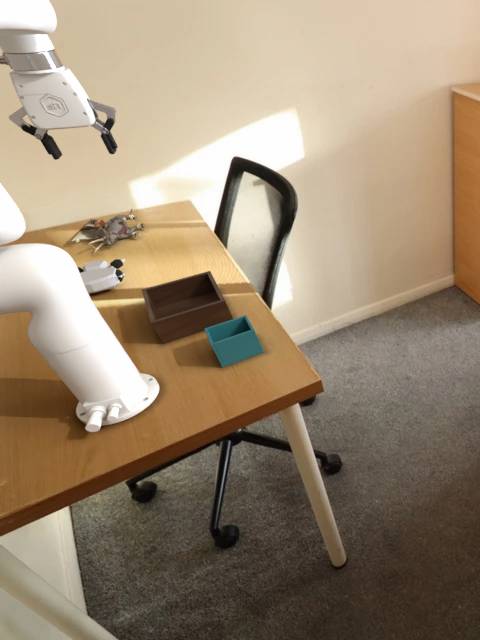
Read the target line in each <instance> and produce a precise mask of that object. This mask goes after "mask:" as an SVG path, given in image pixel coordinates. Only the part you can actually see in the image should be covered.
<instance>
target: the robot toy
mask: <svg viewBox="0 0 480 640" xmlns="http://www.w3.org/2000/svg"><path fill="white" fill-rule="evenodd" d="M125 262H126V259H125V258H116V259H114V260H112V261H111V262H110V263H109V262H108V261H106V260H104V259H99V260H98V259H97V260H92V261H89V262H87V263H84V265H83V266H82V267H80V266H77V268H78V270H79V272H80V275H81V278H82V280H83V283H84V285H85V287H86V290H87V292H88V294H89V295H90V294H95V293H99V292H102V291H106V290H107V291H108V290H113V289H115V288H117V287H118V286H119V285H120V284H121V282H122V281H123V280H124V277H126V273H125V272H123V271H122V270H121V269H120V268H122V267H123V266H124V263H125Z"/></svg>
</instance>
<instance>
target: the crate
mask: <svg viewBox="0 0 480 640" xmlns="http://www.w3.org/2000/svg"><path fill="white" fill-rule="evenodd" d="M141 293H142V297H143V301H144V304H145V308H146V311H147V315H148V318H149V321H150V324H151V326H152V328H153V329H154V331H155V333H156V335H157V336H158V338H159V339H160V341H161V343H162V344H163V345H165V344H167V343H171V342H174V341H177V340H180V339H182V338H187V337H189V336H192V335H195V334H198V333H201V332H205V328H208V327H211V326H214V325H217V324H220V323H223V322H226V321H229V320H232V319H234V317H233V315H232V312H231V310H230V308H229V306H228V303H227V301H226V299H225V298H224V295H223V293H222V291H221V289H220V287H219V286H218V283H217V282H216V280H215V278H214V276H213V273H212V271H211V270H208V271H204V272H201V273H197V274H193V275H190V276H186V277H182V278H178V279H175V280H171V281H167V282H164V283H160V284H156V285H153V286H149V287H146V288H142V289H141Z"/></svg>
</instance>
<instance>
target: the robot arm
mask: <svg viewBox="0 0 480 640" xmlns="http://www.w3.org/2000/svg"><path fill="white" fill-rule="evenodd" d="M57 27H58V18H57V14H56V11H55V9H54V6H53V5H52V3H51V1H50V0H0V49H1V51H2V52H1V55H0V65H6V66H8V67H9V68H10V69H11V70H12V71H10V72H8V74H9V77H10V81H11V83H12V86H13V88H14V90H15V94H17V95H16V96H17V97H18V99H19V101H20V104H21V107H20V108H19V109H17V110H16V111H14V112H13V113H12V114H10V115H8V119H9V121H11V122H12V123H13V124H15V125H16V126H17V127H19V128H20V129H21V130H22V131H23V132H25V133H27V134H29V135H30V136H33V137H34V138H35V139H36V140H39V141H40V142H41V144H42V146H43V148H44V150H45V151H46V152H47V155H49V156H51V157H52V159H53V160H54V161H57V160H59V159H60V158H61V157H62V156H63V152H62V150H61V149H60V147H59V146H58V144H57V143H56V141H55V139H54V137H53V136H52V135H51V134H50V135H49V131H53V130H66V129H67V130H68V129H77V128H78V129H79V128H80V129H81V128H87V127H92V128H94V129H95V130H97V131H98V132H100V133H101V134H100V139H101V140H102V143H103V144H104V146H105V148H106V149H107V152H108V154H110V155H115V154H116V152H117V150H118V144H117V142H116V140H115V138H114V136H113V134H112V132H111V130H112V129H113V127H114V126H115V123H116V116H117V110H116V108H115V107H112V106H109V105H106V104H104V103H101V102H97V101H94V100H91V99H90V97H89V95H88V93H87V92H86V91H85V89H84V87H83V86H82V85H81V83H80V81H79V80H78V79H77V77H76V76H75V74H74V73H73V71H72V70H71V69H70V68H69V67H65V66H64V64H63V62H62V60H61V58H60V56H59V54H58V52H57V51H56V49H55V46H54V44H53V42H52V41H51V39H50V37H49V35H51V34H53V33H54V32H55V31H56V29H57ZM97 111H98V112H102V113H104V114H105V115H106V120H105V121H103V120H101V119H100V118H99V114H98V112H97ZM25 116H27V117H28V119H29V121H30V123H31V124H30V123H28V122H27V121H26V120H25V119H24V117H25ZM26 230H27V222H26V219H25V216H24V215H23V213H22V211H21V209H20V208H19V207H18V204H17V203H16V202H15V201H14V199H13V198H12V196H11V195H10V194H9V192H8V191H7V189H6V188H5V187H4V186H3V184H2V183H1V182H0V316H1V315H2V316H3V315H8V314H17V313H30V314H31V319H30V321H29V323H28V327H27V331H26V332H27V338H28V340H29V341H30V343H31V345H32V346H33V347H34V349H35V350H36V351H37V352H38V354H40V355H41V357H42V358H43V359H44V360H45V362H46V363H47V364H48V365H49V366H50V367H51V369H52V370H53V371H54V372H55V374H56V375H57V376H58V377H59V378H60V380H61V381H62V382H63V383H64V385H65V386H66V387H67V388H68V389H69V391H70V392H71V393H72V395H74V397H75V398H76V399H77V400H78V403H77V404H76V408H75V414H76V416H77V418H78V419H79V420H80V422H82V423H83V424H85V427H84V429H85V430H86V432H89V433H97V432H99V431H100V430H101V427H102V426H103V427H104V426H110V425H114V424H118V423H121V422H123V421H126V420H128V419H131V418H133V417H135V416H137V415H138V414H140V413H141V412H143V411H145V409H147V408H148V407H150V406H151V404H153V402H154V401H155V400H156V399H157V397H158V395H159V393H160V384H159V382H158V380H157V379H156V378H155V377H154V376H152V375H151V374H147V373H142V372H140V371H139V369H138V368H137V367H136V365H135V364H134V362H133V361H132V359H131V358H130V356H129V355H128V353H127V352H126V350H125V348H124V347H123V345H122V343H120V341H119V340H118V338H117V337H116V335H115V334H114V331H112V329H111V328H110V326H109V325H108V323H107V322H106V320H105V319H104V317H103V316H102V315H101V312H100V311H99V310H98V308H97V307H96V305H95V303H94V301H93V299H92V298H91V296H90V294H88V292H87V290H86V287H85V285H84V283H83V280H82V278H81V275H80V272H79V270H78V268H77V267H78V266H77V263H76V262H75V260H74V258H73V257H72V255H70V254H69V253H68V252H67V251H66V250H64V249H63V248H61V247H59V246H56V245H52V244H48V243H42V242H41V243H39V242H34V243H32V242H31V243H30V242H29V243H28V242H27V243H17V244H12V245H10V244H9V243H12V242H16V241H17V240H19V239H20V238H21V237H22V236H23V235H24V234H25V233H26ZM6 244H9V245H6ZM2 245H3V246H2Z"/></svg>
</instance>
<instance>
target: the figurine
mask: <svg viewBox="0 0 480 640" xmlns="http://www.w3.org/2000/svg"><path fill="white" fill-rule="evenodd" d="M128 221H133V222H134V221H135V222H136V223H137V224H136V225H134V226H130V227H129V225H128V224H127V222H128ZM139 221H140V220H139V216H135V215H133V208H131V209H130V212H129V214H118V215H116V216H114V217H111V218H110V219H109V220H106V222H105V220H104V219H103V218H101V219H94V218H90V219H89V220H88V221H87V223H85V224H84V225H83V226H82V227H81V228H80V229H79V230H78V231H76V233H75V234H74V235H73V236H72V237H71V238H70V239H69V240H67V244H70V243H72V242H76V243H79V242H82V241H90V242H89V243H88V244H87V245H88V246H91V247H93V248H94V251H93V254H95V253H98V250H99V249H100V248H102V247H103V246H104V245H107V246H114V245H115V244H116V241H118V240H122V239H127V238H133V237H134V238H138V239H139V238H140V236H139V234H140V232H135V231H137V230H142V229H146V226H145V223H139ZM98 242H100V244H98V246H97V247H95V246H93V245H92V244H94V243H98Z"/></svg>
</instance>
